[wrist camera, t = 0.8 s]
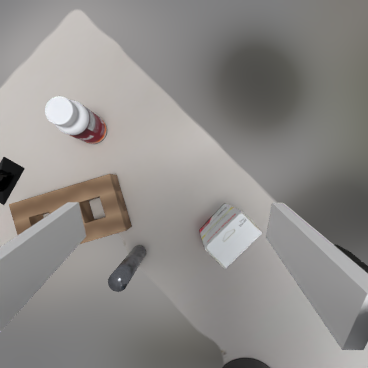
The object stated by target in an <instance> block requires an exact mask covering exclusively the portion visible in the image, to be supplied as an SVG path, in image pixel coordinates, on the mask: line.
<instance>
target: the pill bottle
mask: <svg viewBox="0 0 368 368" xmlns="http://www.w3.org/2000/svg"><path fill="white" fill-rule="evenodd" d="M45 114H46V117H47V118H48V120H49V121H50V122H51V123H53V124H55V125H56V127H57V128H58V129H59V130H60V131H62V132H63V133H65V134H68V135H70V136H73V137H75V138H78V139H80V140H82V141H85V142H87V143H91V144H95V143H99V142H100V141H102V140H103V139H104V138H105V136H106V133H107V128H106V125H105V123H104V121H103V120H102V119H101V118H100V117H98V116H97V115H96V114H94V113H93V112H92V111H90V110H89V109H88V108H86V107H85V106H84V105H82V104H81V103H79V102H77V101H74V100H68V99H67V98H65V97H62V96H57V97H53V98H52V99H50V100H49V101H48V103H47V104H46V107H45Z"/></svg>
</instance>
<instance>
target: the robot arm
mask: <svg viewBox="0 0 368 368" xmlns="http://www.w3.org/2000/svg"><path fill="white" fill-rule="evenodd" d="M85 237H86V233H85V228H84V224H83V219H82V215H81V210H80V206H79V202H67V203H66V204H64V205H63V206H61V207H60V208H58V209H57V210H55V211H54V212H52V213H51V214H49V215H48V216H46V217H45V218H43V219H42V220H40V221H39V222H37V223H36V224H34V225H33V226H31V227H30V228H28V229H27V230H25V231H24V232H22V233H21V234H19V235H18V236H16V237H15V238H13V239H12V240H10V241H9V242H7V243H5V244H4V245H2V246H1V247H0V332H1V331H2V330H3V329H4V328H5V327H6V326H7V324H8V323H9V322H10V321H11V320H12V319H13V318H14V316H15V315H16V314H17V313H18V312H19V311H20V310H21V309H22V308H23V307H24V305H25V304H26V303H27V302H28V301H29V300H30V298H31V297H33V295H34V294H35V293H36V292H37V291H38V290H39V289H40V288H41V286H42V285H43V284H44V283H45V282H46V281H47V280H48V278H50V276H51V275H52V274H53V273H54V272H55V271H56V270H57V268H58V267H59V266H60V265H61V264H62V263H63V262H64V261H65V260H66V258H67V257H68V256H69V255H70V254H71V253H72V252H73V251H74V250H75V248H76V247H77V246H78V245H79V244H80V243H81V242H82V241H83V239H84V238H85ZM266 239H267V240H268V241H269V243H270V244H271V246H272V247H273V249H274V250H275V252H276V253H277V255H278V256H279V258H280V259H281V261H282V262H283V264H284V265H285V266H286V268H287V269H288V271H289V272H290V274H291V275H292V277H293V278H294V280H295V281H296V283H297V284H298V286H299V287H300V288H301V290H302V291H303V293H304V294H305V296H306V297H307V299H308V300H309V302H310V303H311V305H312V306H313V308H314V309H315V311H316V312H317V313H318V315H319V316H320V318H321V319H322V321H323V322H324V324H325V325H326V327H327V328H328V330H329V331H330V333H331V334H332V336H333V337H334V338H335V340H336V341H337V343H338V344H339V346H340V347H341V349H342V350H364V348H365V346H366V344H367V342H368V266H367V265H366V264H365V263H363V262H361V261H360V260H359V259H358V258H357V257H356V256H355V255H353V254H352V253H351V252H349V251H347V250H345V249H344V248H342V247H340V246H338V245H333V244H332V243H331V242H330V241H328V240H327V239H326V238H325V237H324V236H322V235H321V234H320V233H319V232H318V231H316V230H315V229H314V228H313V227H312V226H310V225H309V224H308V223H307V222H306V221H304V220H303V219H302V218H301V217H300V216H298V215H297V214H296V213H295V212H294V211H292V210H291V209H290V208H289V207H288V206H286V205H285V204H284V203H272V205H271V211H270V217H269V222H268V228H267V234H266ZM223 368H269V367H268V366H267V365H265V364H264V363H262V362H260V361H257V360H254V359H238V360H234V361H232V362H230V363H228V364H226V365H225V366H224V367H223Z"/></svg>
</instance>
